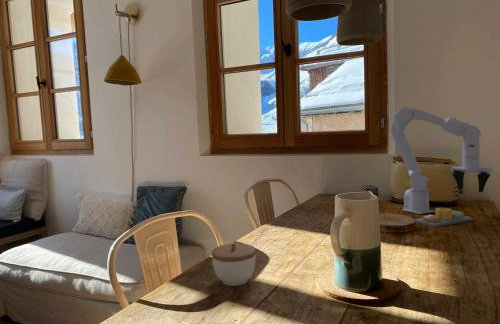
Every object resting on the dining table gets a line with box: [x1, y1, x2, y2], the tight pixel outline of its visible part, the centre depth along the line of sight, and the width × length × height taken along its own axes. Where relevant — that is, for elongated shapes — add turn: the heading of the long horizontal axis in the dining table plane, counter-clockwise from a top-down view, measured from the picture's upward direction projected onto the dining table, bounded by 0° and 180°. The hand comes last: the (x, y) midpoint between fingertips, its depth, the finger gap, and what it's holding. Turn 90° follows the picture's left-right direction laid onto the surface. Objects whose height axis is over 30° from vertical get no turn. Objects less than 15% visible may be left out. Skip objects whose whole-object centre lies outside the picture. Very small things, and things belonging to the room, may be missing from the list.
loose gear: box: [434, 207, 453, 220], centre depth 138 cm, size 6×6×4 cm
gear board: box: [413, 210, 474, 228], centre depth 138 cm, size 9×20×3 cm, turn 113°
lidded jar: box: [211, 242, 257, 287], centre depth 91 cm, size 11×11×9 cm
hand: (470, 190), depth 146 cm, fingers open, 7 cm apart
